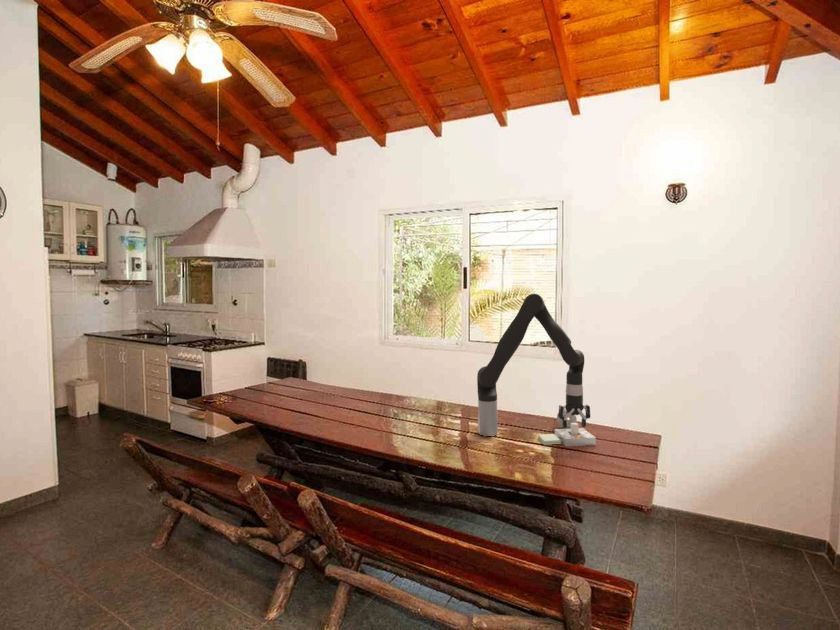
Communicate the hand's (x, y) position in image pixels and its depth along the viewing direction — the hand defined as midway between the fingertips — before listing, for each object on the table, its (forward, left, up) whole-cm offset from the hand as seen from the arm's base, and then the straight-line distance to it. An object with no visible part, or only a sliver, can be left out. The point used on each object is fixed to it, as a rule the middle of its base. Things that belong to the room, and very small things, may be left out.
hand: (574, 427), depth 211 cm
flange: (0, 0, -6) cm, 6 cm away
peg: (0, 0, -6) cm, 6 cm away
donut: (+3, +18, -7) cm, 19 cm away
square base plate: (-12, 0, -6) cm, 13 cm away
